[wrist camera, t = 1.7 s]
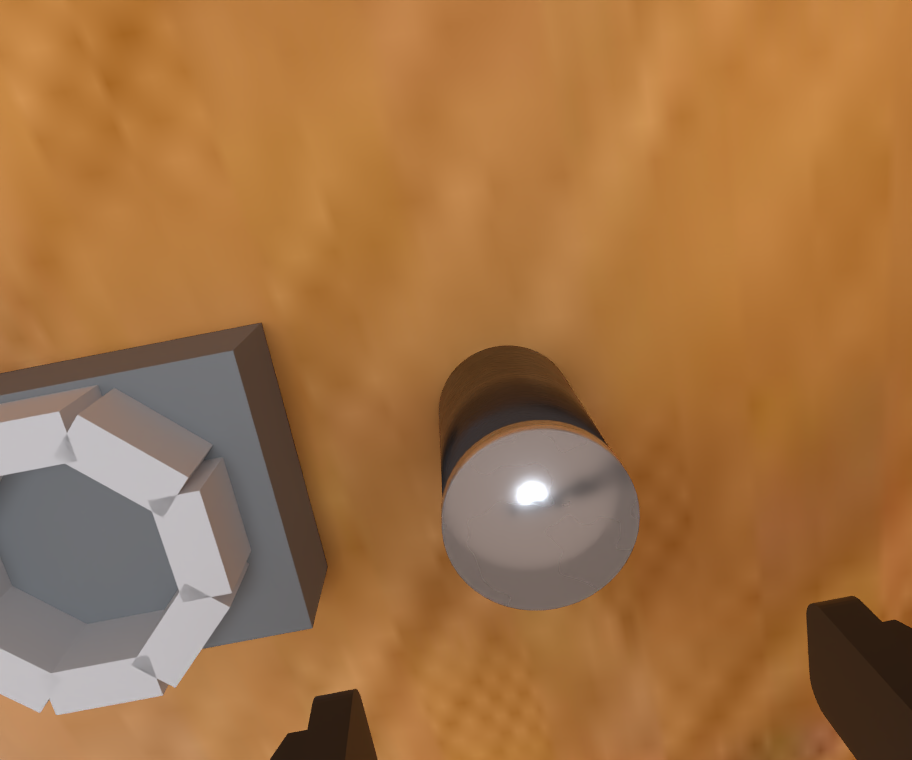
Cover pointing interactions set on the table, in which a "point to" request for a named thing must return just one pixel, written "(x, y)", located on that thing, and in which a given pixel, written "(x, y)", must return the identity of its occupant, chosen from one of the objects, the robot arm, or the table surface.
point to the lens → (529, 484)
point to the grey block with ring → (147, 518)
